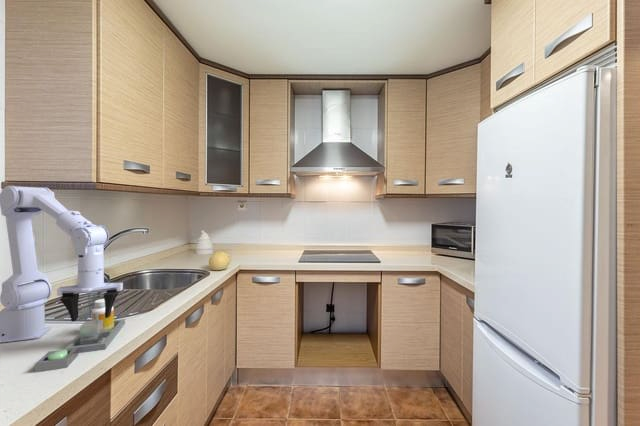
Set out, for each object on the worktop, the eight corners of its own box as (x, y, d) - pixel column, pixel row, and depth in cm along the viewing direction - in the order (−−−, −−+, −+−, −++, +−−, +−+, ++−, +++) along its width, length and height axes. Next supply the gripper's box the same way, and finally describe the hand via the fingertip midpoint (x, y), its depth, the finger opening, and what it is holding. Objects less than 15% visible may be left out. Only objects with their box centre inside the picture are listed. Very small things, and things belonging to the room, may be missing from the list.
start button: (44, 366, 70) (44, 357, 70) (52, 358, 73) (52, 350, 73) (63, 363, 71) (63, 355, 71) (70, 356, 74) (70, 348, 74)
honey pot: (192, 253, 235) (192, 231, 234) (203, 251, 247) (203, 229, 246) (205, 254, 231) (205, 231, 230) (216, 252, 243) (216, 230, 242)
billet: (80, 348, 79) (79, 326, 79) (86, 342, 83) (86, 321, 83) (97, 346, 81) (97, 325, 81) (103, 340, 84) (102, 319, 84)
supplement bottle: (118, 327, 93) (117, 297, 93) (106, 335, 87) (105, 303, 87) (100, 328, 93) (100, 297, 92) (87, 335, 87) (87, 303, 87)
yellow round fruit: (233, 268, 181) (233, 250, 181) (220, 272, 170) (220, 253, 169) (218, 267, 185) (218, 249, 184) (204, 270, 174) (204, 252, 173)
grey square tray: (35, 372, 68) (35, 363, 68) (49, 359, 74) (48, 351, 74) (67, 367, 70) (66, 359, 70) (78, 355, 76) (78, 347, 76)
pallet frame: (64, 354, 76) (64, 349, 76) (91, 327, 93) (91, 322, 93) (105, 349, 79) (105, 343, 79) (124, 323, 96) (124, 319, 96)
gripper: (50, 274, 75) (51, 327, 76) (117, 271, 80) (117, 320, 81) (64, 269, 82) (64, 317, 82) (124, 265, 87) (125, 311, 87)
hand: (91, 318), depth 82 cm, fingers open, 7 cm apart
